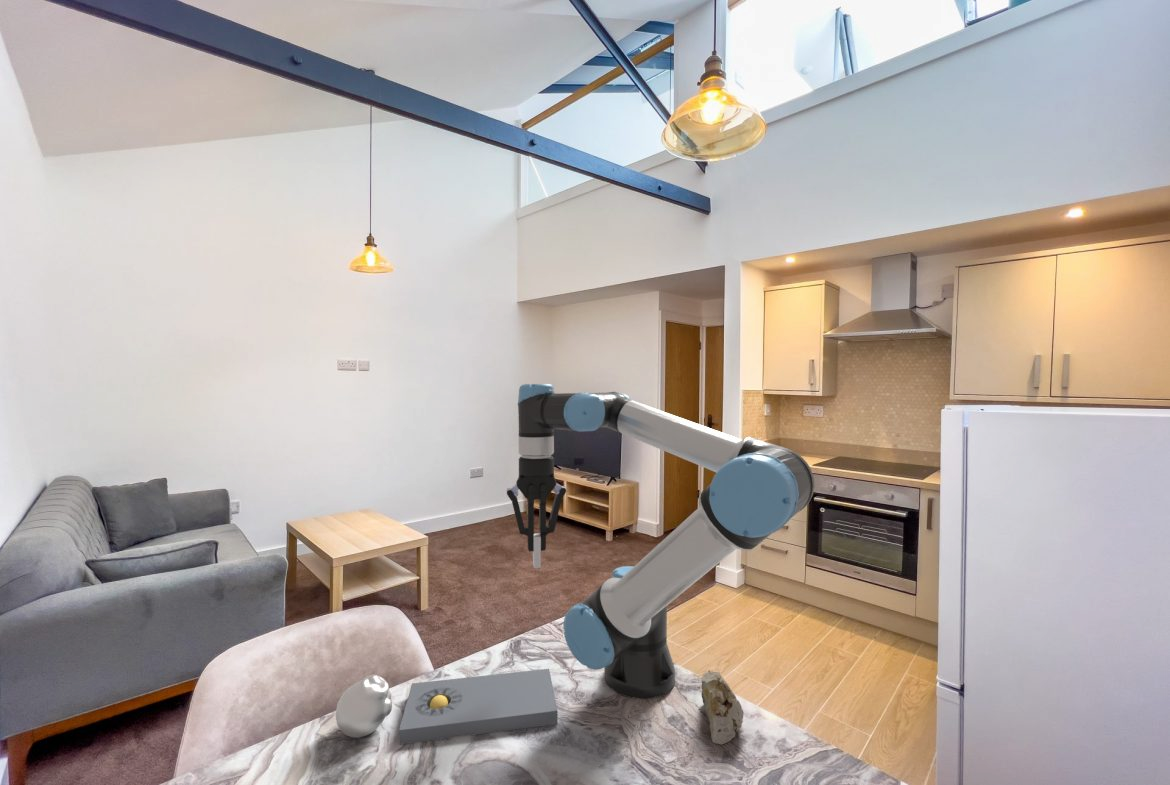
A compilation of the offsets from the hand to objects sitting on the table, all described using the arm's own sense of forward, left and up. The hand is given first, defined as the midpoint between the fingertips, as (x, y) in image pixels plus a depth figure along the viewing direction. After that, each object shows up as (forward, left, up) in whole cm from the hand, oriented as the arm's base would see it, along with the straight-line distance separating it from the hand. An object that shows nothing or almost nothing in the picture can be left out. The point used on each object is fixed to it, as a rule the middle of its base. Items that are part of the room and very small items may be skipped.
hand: (536, 565), depth 106 cm
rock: (-36, +14, -25) cm, 46 cm away
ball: (+18, +11, -23) cm, 31 cm away
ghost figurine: (+30, +16, -25) cm, 42 cm away
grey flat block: (+10, +10, -24) cm, 28 cm away
